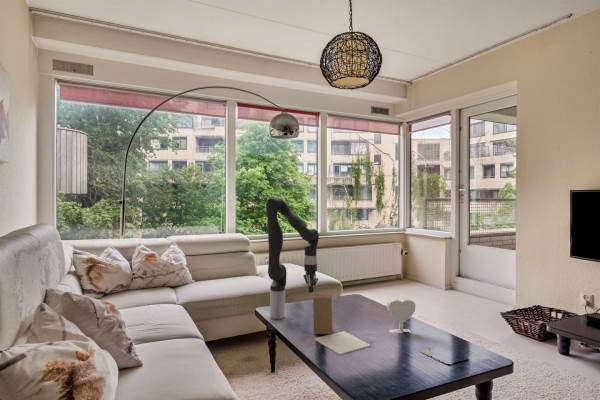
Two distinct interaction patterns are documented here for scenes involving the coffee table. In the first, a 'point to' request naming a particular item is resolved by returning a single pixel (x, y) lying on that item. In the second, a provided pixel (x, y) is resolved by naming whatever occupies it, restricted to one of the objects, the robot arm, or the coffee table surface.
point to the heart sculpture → (401, 312)
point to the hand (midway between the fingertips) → (310, 292)
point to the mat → (342, 342)
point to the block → (322, 313)
